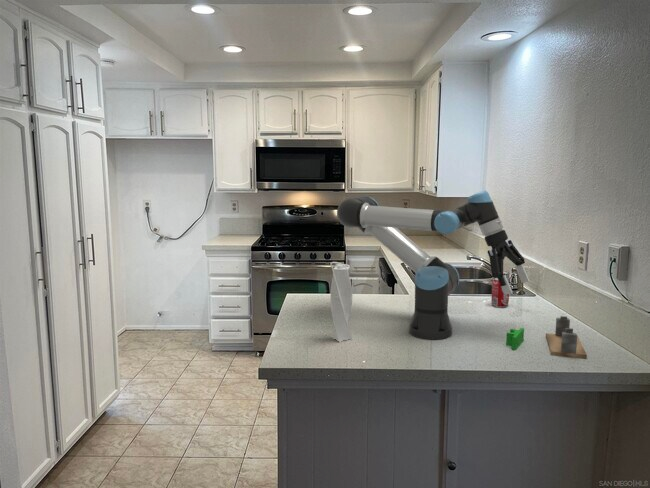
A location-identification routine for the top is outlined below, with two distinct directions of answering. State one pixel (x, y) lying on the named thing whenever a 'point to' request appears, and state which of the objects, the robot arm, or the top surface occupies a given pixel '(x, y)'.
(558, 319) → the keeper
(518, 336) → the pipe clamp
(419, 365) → the top surface
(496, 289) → the soda can
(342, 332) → the skyscraper
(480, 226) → the robot arm
